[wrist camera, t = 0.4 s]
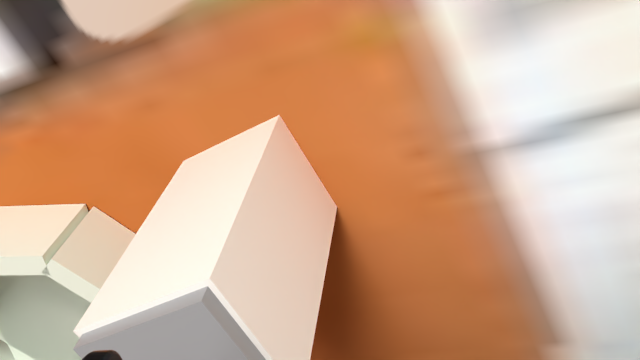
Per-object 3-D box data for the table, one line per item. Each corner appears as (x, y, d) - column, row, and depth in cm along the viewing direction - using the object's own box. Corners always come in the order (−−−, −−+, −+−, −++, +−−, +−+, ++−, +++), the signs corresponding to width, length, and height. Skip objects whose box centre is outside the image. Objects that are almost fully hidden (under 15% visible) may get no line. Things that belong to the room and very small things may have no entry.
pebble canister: (337, 207, 27) (300, 414, 18) (244, 244, 29) (165, 451, 19) (279, 114, 25) (203, 293, 16) (183, 160, 27) (63, 346, 17)
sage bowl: (218, 389, 34) (196, 452, 31) (15, 385, 36) (-26, 444, 33) (163, 201, 28) (130, 254, 24) (-78, 208, 30) (-140, 259, 27)
